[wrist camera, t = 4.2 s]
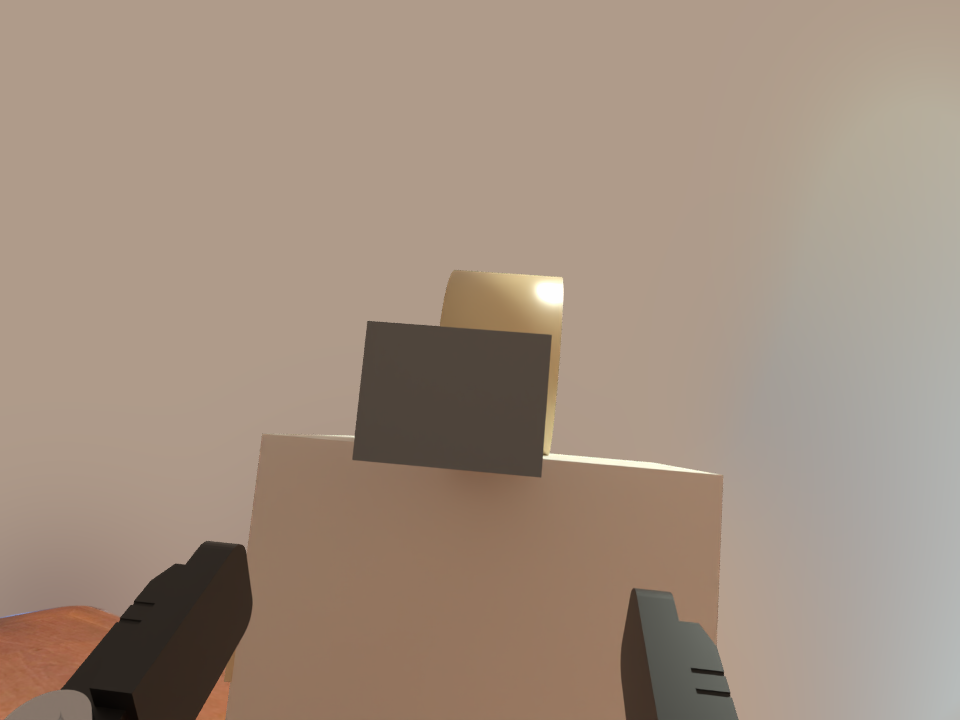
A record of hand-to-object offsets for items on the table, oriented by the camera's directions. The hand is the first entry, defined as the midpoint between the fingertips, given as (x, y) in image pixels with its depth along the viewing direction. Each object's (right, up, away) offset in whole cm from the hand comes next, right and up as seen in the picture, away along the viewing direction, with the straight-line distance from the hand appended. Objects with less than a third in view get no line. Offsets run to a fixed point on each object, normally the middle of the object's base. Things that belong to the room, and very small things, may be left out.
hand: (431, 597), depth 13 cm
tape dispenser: (+1, +1, +13) cm, 13 cm away
